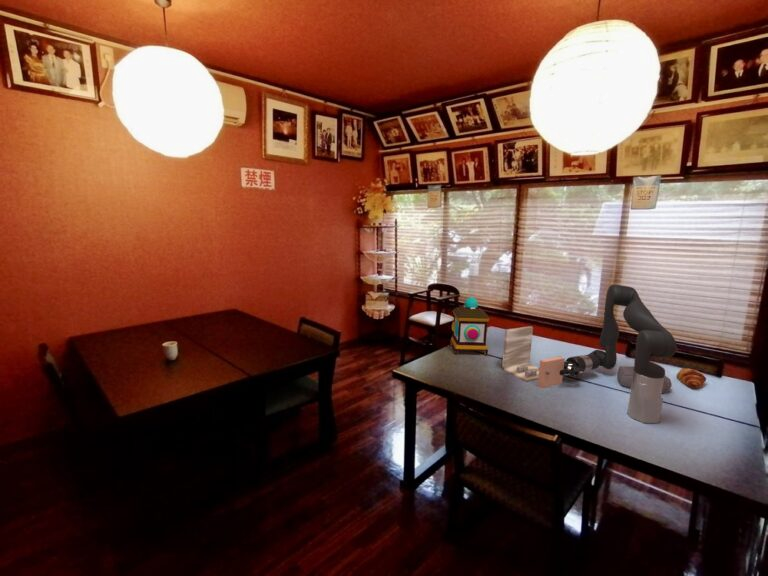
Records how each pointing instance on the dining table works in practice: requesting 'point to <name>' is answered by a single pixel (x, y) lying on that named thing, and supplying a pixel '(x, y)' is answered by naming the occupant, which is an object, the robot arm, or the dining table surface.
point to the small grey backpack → (627, 374)
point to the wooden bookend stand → (519, 354)
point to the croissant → (691, 377)
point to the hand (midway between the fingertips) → (552, 369)
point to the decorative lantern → (469, 327)
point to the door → (550, 372)
